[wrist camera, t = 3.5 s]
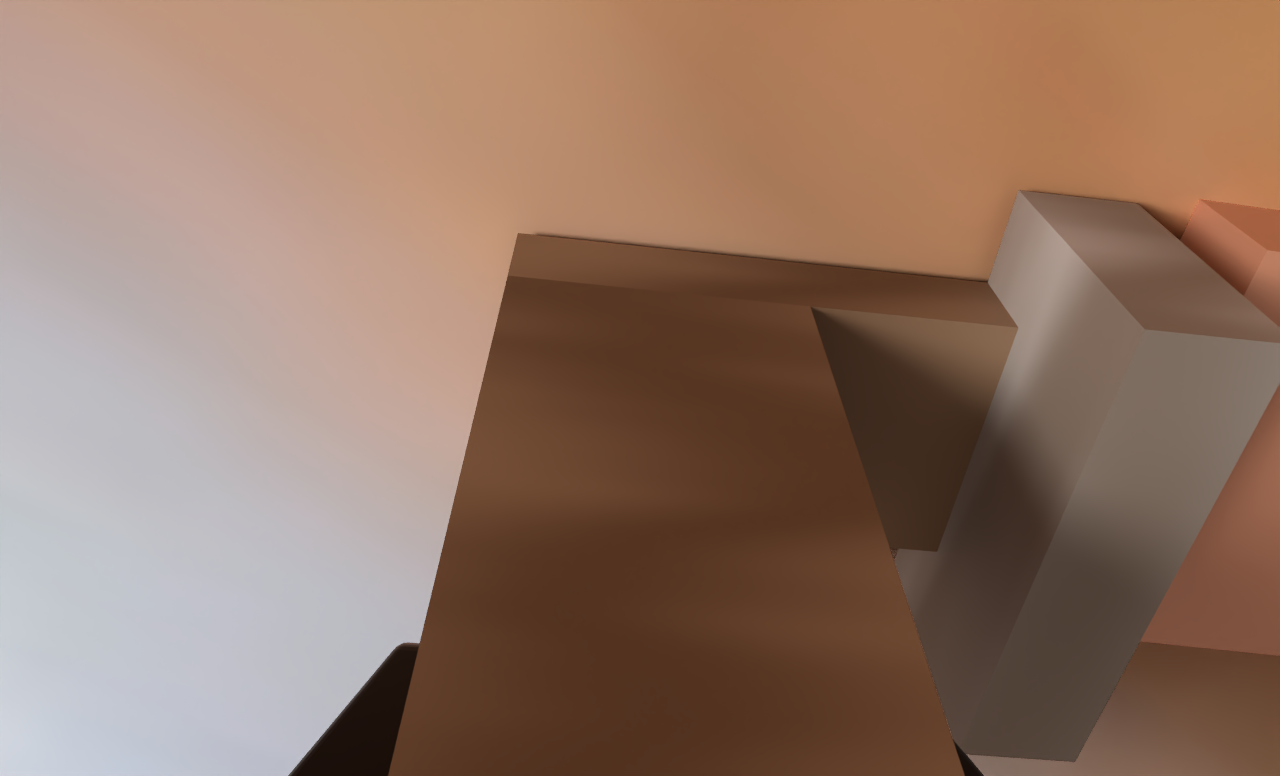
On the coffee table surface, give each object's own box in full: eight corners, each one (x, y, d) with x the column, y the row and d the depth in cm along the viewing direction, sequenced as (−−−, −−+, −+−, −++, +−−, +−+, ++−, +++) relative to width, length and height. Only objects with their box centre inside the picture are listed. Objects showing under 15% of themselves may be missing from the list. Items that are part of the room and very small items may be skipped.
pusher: (1136, 203, 12) (1984, 940, 5) (988, 568, 15) (1341, 1364, 8) (523, 134, 12) (320, 835, 4) (501, 527, 15) (365, 1336, 7)
